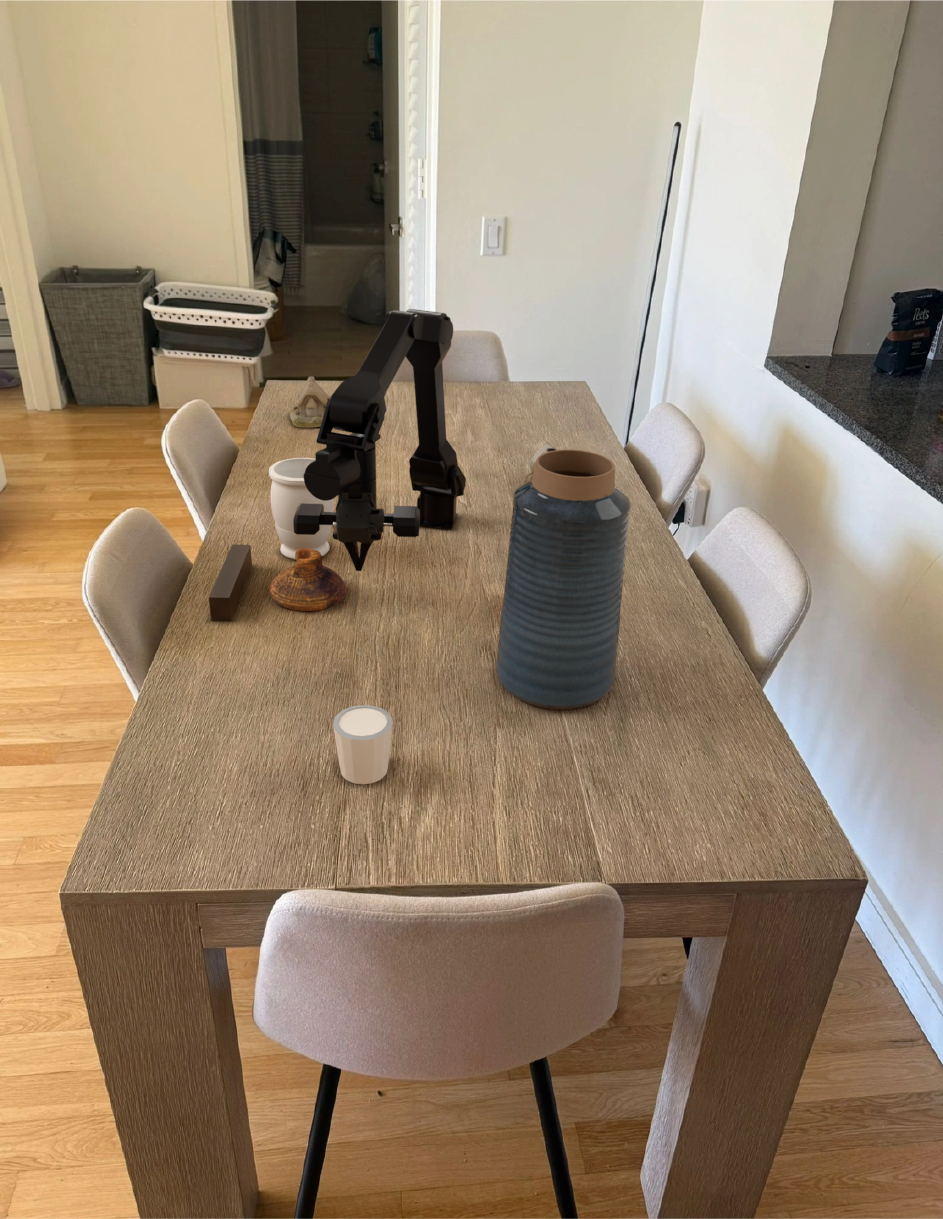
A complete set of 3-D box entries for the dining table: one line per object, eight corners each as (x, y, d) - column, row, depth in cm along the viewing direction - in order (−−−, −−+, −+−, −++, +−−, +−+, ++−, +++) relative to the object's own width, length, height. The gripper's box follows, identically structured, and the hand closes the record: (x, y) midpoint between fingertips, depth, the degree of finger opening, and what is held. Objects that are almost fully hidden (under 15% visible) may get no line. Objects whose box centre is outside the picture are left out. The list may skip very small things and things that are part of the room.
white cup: (336, 751, 115) (334, 704, 112) (392, 750, 116) (392, 703, 112) (333, 788, 109) (331, 740, 106) (393, 787, 110) (393, 738, 106)
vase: (534, 725, 121) (553, 497, 106) (474, 662, 134) (484, 449, 118) (637, 695, 128) (670, 476, 112) (572, 637, 141) (593, 433, 125)
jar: (323, 567, 157) (319, 483, 150) (264, 559, 159) (258, 476, 151) (343, 541, 166) (341, 460, 159) (287, 534, 168) (282, 453, 160)
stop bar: (252, 566, 157) (250, 544, 155) (231, 621, 141) (229, 597, 139) (234, 566, 157) (232, 544, 155) (211, 620, 141) (208, 597, 139)
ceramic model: (290, 409, 229) (288, 368, 224) (337, 409, 230) (336, 368, 225) (287, 428, 217) (285, 385, 212) (337, 428, 218) (335, 386, 213)
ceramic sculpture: (574, 435, 193) (583, 465, 181) (570, 473, 198) (579, 506, 185) (522, 434, 193) (528, 464, 180) (520, 473, 198) (525, 505, 185)
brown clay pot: (335, 616, 143) (334, 573, 140) (259, 608, 145) (255, 565, 141) (354, 581, 153) (353, 540, 150) (283, 573, 155) (280, 533, 151)
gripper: (285, 496, 132) (291, 593, 140) (418, 499, 133) (417, 596, 141) (296, 466, 142) (301, 559, 150) (420, 470, 143) (419, 562, 151)
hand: (359, 570), depth 147 cm, fingers closed
